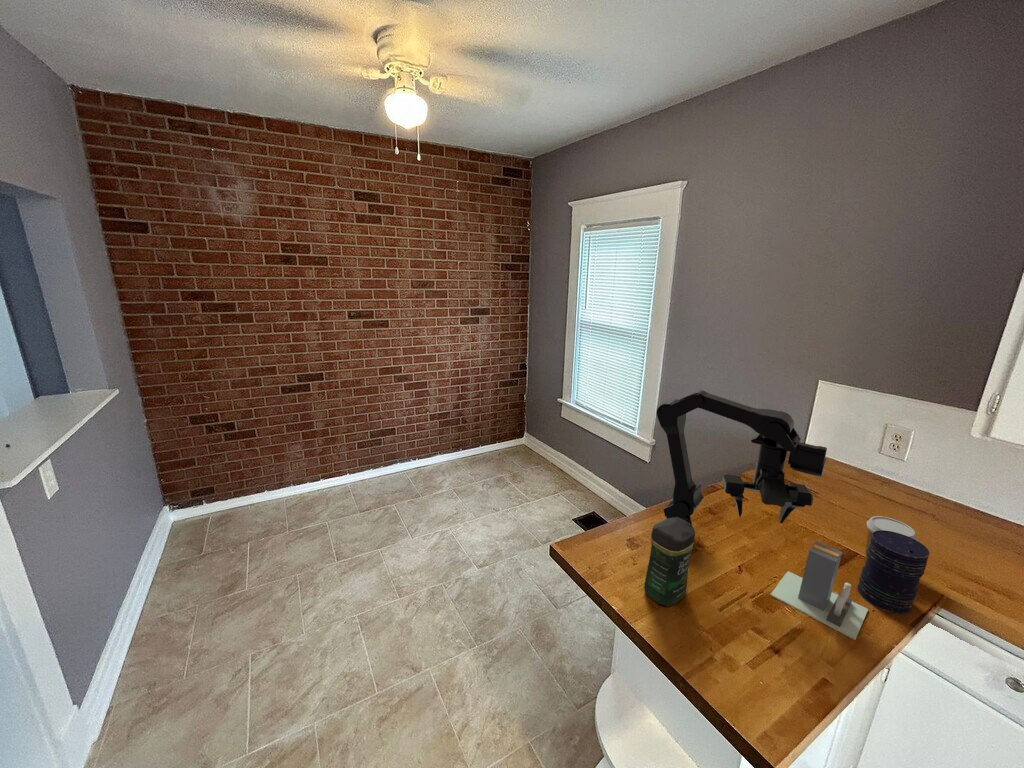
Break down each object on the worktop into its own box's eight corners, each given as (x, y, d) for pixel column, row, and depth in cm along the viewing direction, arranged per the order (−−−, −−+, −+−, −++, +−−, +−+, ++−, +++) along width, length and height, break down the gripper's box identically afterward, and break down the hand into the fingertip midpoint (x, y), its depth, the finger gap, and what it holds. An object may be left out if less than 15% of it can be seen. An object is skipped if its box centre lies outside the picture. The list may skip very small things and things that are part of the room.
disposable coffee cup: (864, 573, 106) (876, 532, 103) (851, 550, 115) (861, 511, 111) (912, 583, 103) (926, 541, 100) (894, 559, 111) (906, 519, 108)
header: (770, 595, 98) (775, 574, 97) (787, 572, 106) (792, 552, 104) (855, 640, 87) (862, 616, 85) (867, 610, 94) (874, 588, 93)
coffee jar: (667, 613, 93) (677, 541, 88) (638, 591, 99) (646, 523, 94) (692, 594, 99) (702, 525, 94) (663, 574, 105) (671, 509, 100)
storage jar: (846, 581, 103) (860, 529, 99) (887, 583, 103) (903, 530, 99) (879, 614, 94) (896, 557, 89) (924, 615, 93) (943, 558, 89)
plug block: (797, 598, 97) (809, 549, 94) (804, 587, 100) (816, 540, 97) (823, 611, 94) (836, 560, 90) (829, 600, 97) (842, 551, 93)
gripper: (734, 472, 97) (724, 530, 101) (828, 484, 92) (814, 546, 96) (726, 452, 107) (717, 506, 111) (810, 463, 102) (797, 519, 106)
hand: (759, 519), depth 106 cm, fingers open, 9 cm apart
